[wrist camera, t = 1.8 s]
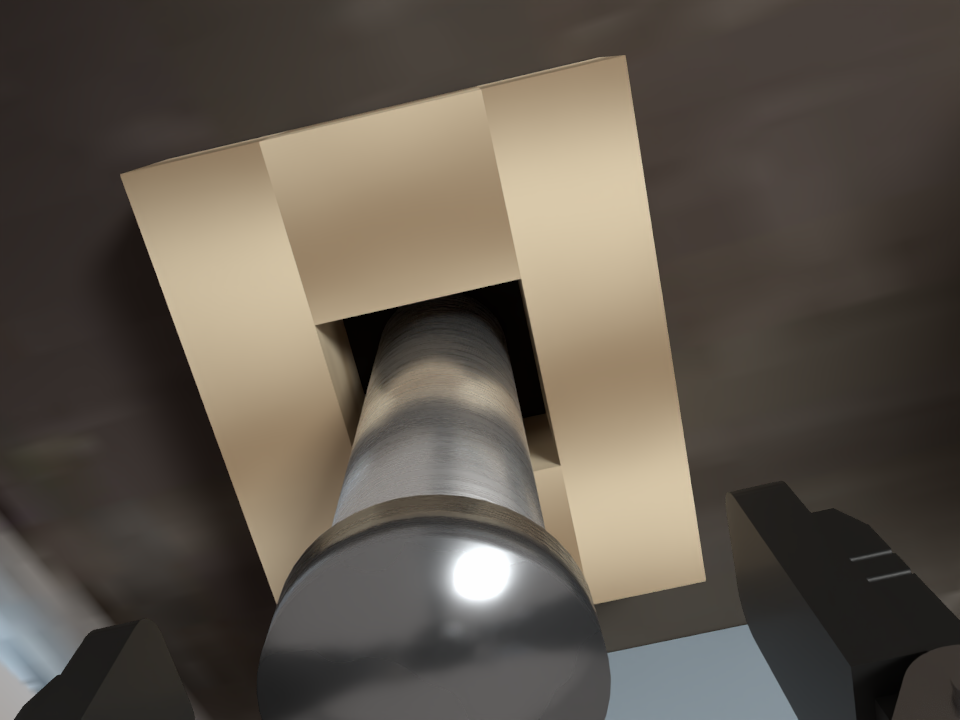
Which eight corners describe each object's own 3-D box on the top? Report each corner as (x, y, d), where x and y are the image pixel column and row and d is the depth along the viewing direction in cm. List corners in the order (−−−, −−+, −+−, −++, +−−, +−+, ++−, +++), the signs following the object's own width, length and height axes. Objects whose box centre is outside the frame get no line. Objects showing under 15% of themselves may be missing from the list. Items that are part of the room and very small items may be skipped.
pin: (344, 295, 20) (207, 584, 9) (504, 258, 20) (576, 504, 9) (386, 440, 21) (314, 854, 10) (537, 407, 21) (636, 791, 10)
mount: (169, 158, 19) (119, 174, 16) (598, 57, 18) (625, 55, 16) (318, 592, 23) (298, 665, 20) (673, 516, 22) (705, 581, 20)
